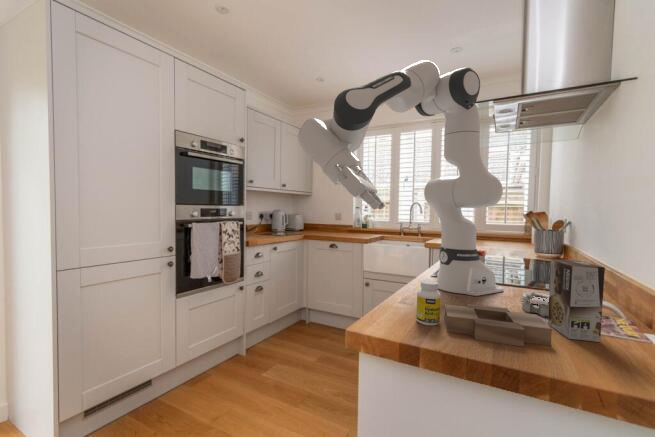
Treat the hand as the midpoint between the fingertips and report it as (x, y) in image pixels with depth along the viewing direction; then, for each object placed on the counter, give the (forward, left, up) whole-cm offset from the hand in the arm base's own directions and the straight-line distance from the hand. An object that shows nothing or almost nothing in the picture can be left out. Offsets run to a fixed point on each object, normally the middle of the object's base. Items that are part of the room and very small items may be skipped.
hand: (380, 207), depth 77 cm
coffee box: (-39, +21, -28) cm, 52 cm away
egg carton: (-47, +7, -28) cm, 55 cm away
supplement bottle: (-10, +7, -28) cm, 30 cm away
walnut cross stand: (-22, +15, -27) cm, 38 cm away
